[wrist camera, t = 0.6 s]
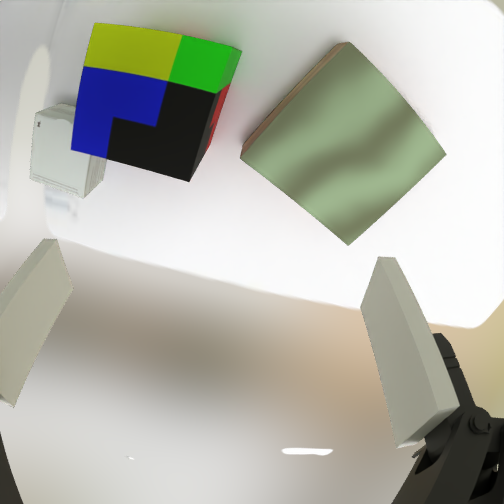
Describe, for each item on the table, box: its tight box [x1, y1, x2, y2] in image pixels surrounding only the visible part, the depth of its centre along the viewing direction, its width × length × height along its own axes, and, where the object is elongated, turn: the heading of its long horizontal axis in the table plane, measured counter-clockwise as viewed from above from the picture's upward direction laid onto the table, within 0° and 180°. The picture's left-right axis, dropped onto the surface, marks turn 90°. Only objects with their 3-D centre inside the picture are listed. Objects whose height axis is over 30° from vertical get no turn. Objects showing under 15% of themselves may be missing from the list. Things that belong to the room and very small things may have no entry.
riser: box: [240, 42, 446, 246], centre depth 27 cm, size 14×14×4 cm
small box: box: [30, 103, 107, 198], centre depth 28 cm, size 8×8×5 cm
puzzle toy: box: [71, 23, 242, 182], centre depth 22 cm, size 10×10×10 cm
